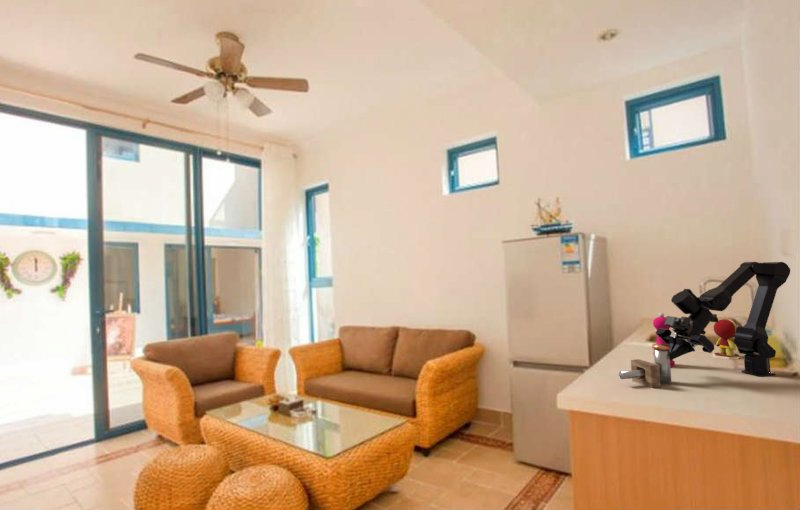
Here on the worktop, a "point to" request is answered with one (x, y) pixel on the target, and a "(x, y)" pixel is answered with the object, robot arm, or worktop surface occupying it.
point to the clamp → (659, 358)
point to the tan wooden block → (647, 373)
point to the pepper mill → (659, 323)
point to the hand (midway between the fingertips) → (668, 359)
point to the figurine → (725, 339)
